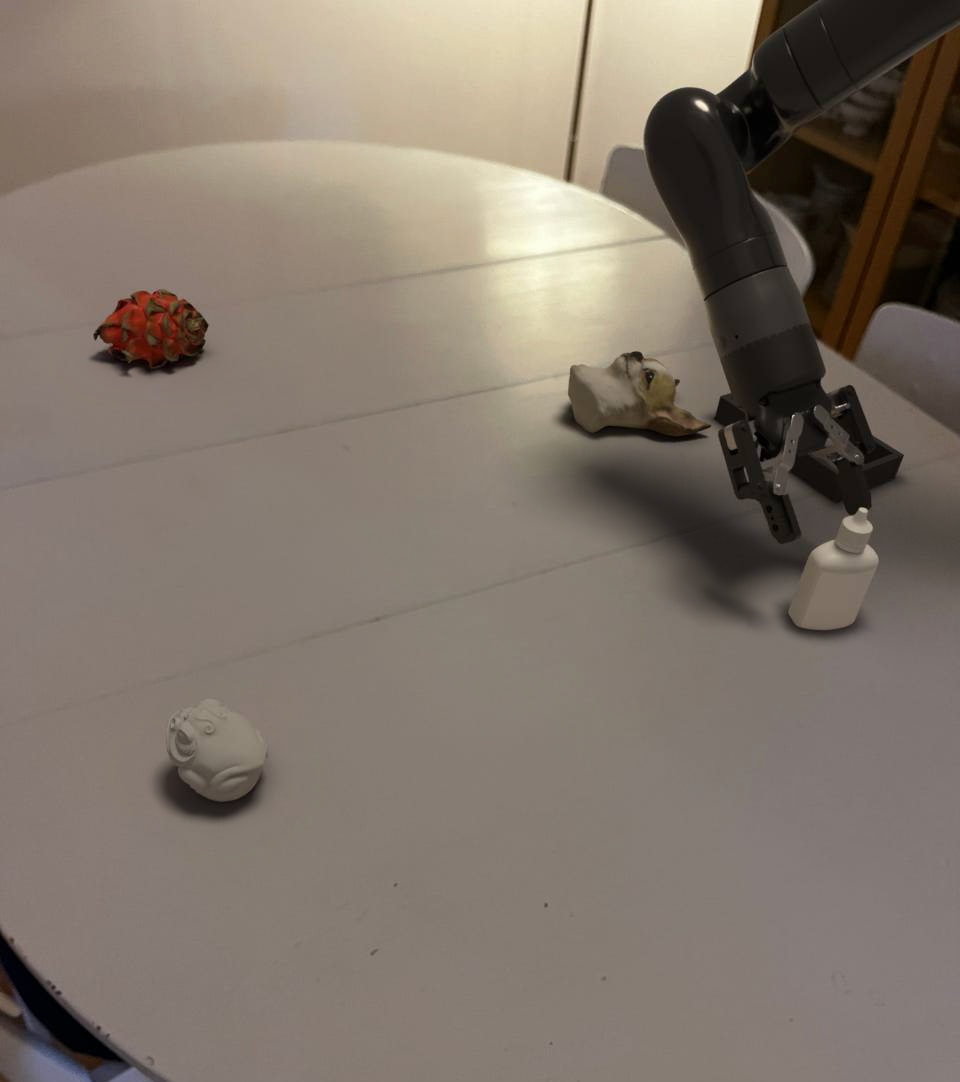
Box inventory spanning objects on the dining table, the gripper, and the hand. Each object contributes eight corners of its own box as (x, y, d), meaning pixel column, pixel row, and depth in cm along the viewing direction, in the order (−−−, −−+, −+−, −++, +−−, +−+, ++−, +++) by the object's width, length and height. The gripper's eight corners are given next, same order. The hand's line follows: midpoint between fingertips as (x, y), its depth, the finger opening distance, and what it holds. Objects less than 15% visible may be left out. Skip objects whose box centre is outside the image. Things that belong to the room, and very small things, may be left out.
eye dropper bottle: (850, 647, 89) (899, 534, 81) (783, 630, 90) (825, 516, 82) (852, 615, 92) (899, 503, 84) (788, 599, 93) (829, 487, 85)
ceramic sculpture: (559, 326, 109) (691, 329, 113) (544, 400, 115) (670, 400, 119) (590, 378, 102) (730, 379, 106) (572, 454, 108) (705, 453, 112)
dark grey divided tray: (771, 405, 119) (779, 377, 116) (892, 484, 109) (904, 454, 106) (712, 425, 115) (720, 395, 112) (832, 509, 104) (844, 478, 102)
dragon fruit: (222, 376, 117) (113, 394, 116) (210, 306, 118) (101, 323, 117) (208, 341, 109) (90, 360, 107) (194, 266, 110) (78, 284, 109)
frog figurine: (205, 740, 76) (195, 671, 72) (290, 773, 75) (285, 705, 70) (155, 799, 72) (140, 731, 67) (244, 836, 70) (235, 768, 66)
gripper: (730, 340, 79) (799, 543, 80) (856, 304, 86) (918, 493, 87) (670, 372, 86) (734, 559, 87) (791, 337, 92) (849, 512, 94)
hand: (826, 526), depth 87 cm, fingers open, 8 cm apart
